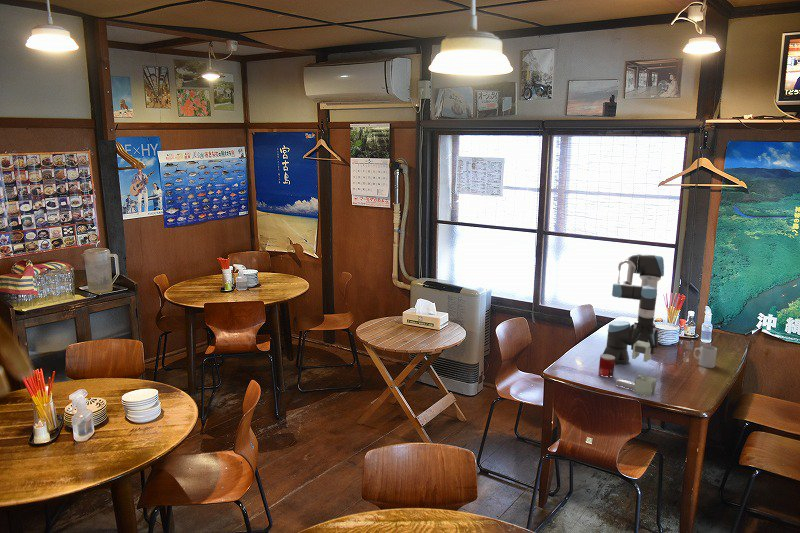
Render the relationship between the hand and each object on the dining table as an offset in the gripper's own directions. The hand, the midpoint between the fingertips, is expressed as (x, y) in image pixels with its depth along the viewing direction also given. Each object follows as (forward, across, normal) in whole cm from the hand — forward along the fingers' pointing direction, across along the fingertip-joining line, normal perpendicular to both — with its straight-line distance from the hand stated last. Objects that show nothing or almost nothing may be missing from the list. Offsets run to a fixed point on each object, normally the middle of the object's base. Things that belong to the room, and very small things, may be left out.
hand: (641, 357), depth 330 cm
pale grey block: (+15, +1, -10) cm, 18 cm away
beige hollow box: (0, 0, 0) cm, 0 cm away
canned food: (+15, -18, +1) cm, 24 cm away
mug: (+15, +21, +56) cm, 62 cm away
